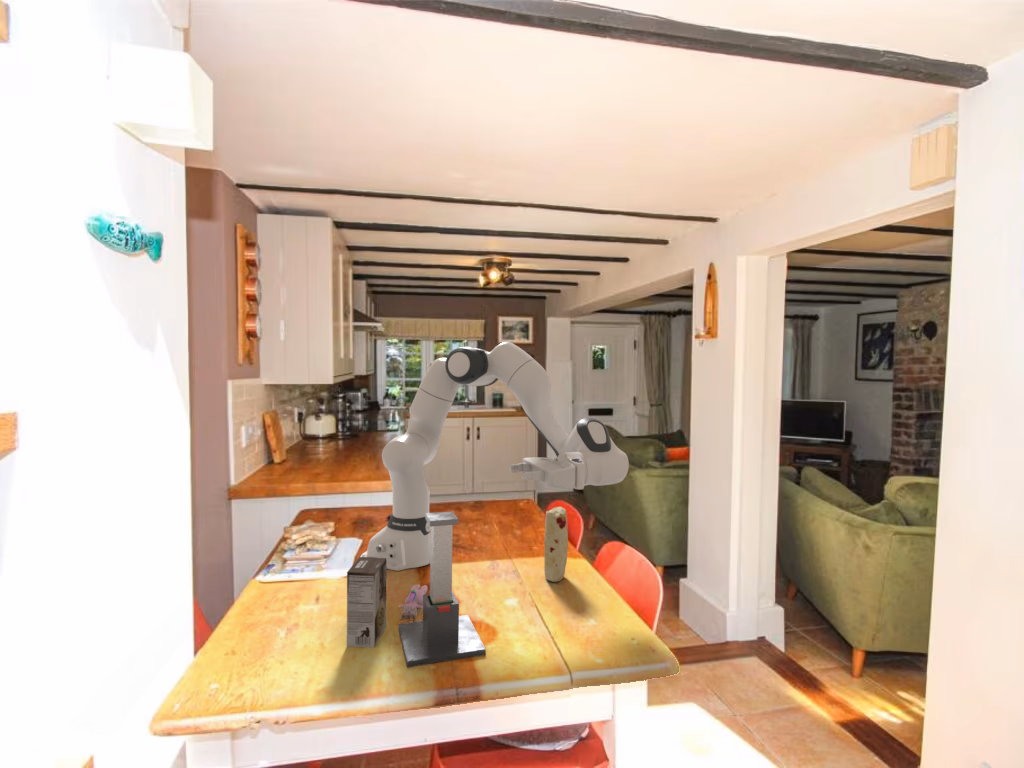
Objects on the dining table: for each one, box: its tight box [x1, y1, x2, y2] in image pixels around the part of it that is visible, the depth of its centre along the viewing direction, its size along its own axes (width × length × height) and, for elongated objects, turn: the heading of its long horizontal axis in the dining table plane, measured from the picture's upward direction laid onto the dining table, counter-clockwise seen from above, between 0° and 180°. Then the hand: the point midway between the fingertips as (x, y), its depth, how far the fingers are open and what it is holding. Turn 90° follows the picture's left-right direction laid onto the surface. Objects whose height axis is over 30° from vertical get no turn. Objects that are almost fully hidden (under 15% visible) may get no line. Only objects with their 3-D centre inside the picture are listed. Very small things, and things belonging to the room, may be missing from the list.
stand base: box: [397, 590, 487, 668], centre depth 115 cm, size 16×16×9 cm
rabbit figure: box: [398, 584, 428, 623], centre depth 130 cm, size 6×6×15 cm
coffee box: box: [346, 556, 387, 649], centre depth 116 cm, size 9×6×16 cm
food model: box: [543, 506, 569, 583], centre depth 151 cm, size 10×7×20 cm
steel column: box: [425, 511, 459, 606], centre depth 115 cm, size 6×6×21 cm
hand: (516, 472), depth 130 cm, fingers open, 8 cm apart
